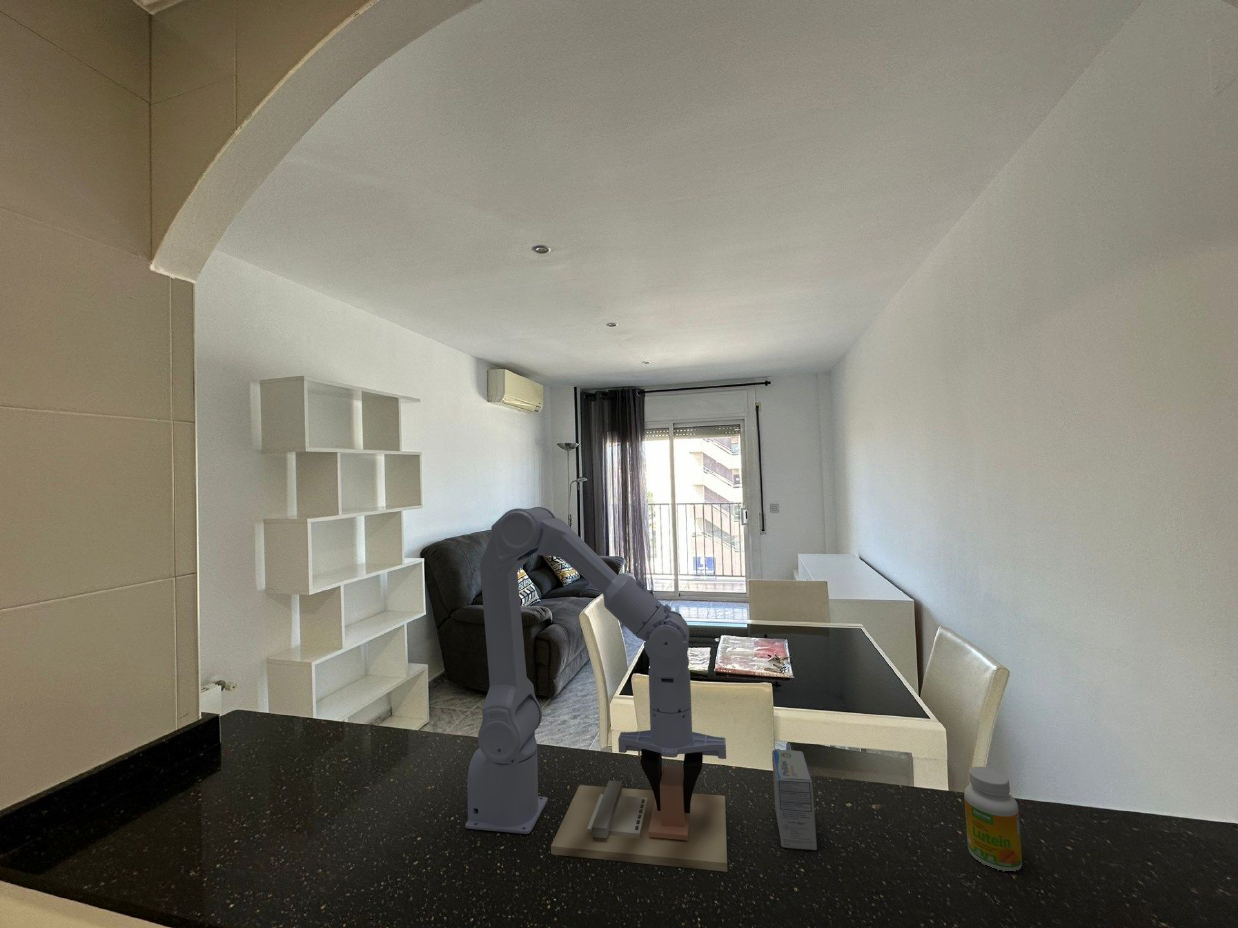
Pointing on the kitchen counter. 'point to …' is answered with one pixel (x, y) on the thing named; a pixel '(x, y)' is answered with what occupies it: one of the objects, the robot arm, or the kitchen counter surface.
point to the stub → (670, 807)
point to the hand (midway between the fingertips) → (674, 807)
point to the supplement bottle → (992, 820)
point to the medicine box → (794, 800)
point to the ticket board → (640, 829)
